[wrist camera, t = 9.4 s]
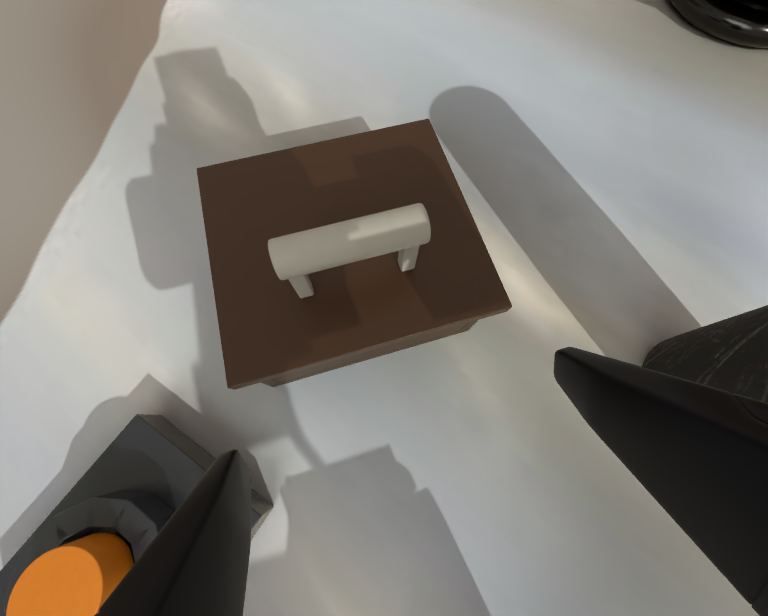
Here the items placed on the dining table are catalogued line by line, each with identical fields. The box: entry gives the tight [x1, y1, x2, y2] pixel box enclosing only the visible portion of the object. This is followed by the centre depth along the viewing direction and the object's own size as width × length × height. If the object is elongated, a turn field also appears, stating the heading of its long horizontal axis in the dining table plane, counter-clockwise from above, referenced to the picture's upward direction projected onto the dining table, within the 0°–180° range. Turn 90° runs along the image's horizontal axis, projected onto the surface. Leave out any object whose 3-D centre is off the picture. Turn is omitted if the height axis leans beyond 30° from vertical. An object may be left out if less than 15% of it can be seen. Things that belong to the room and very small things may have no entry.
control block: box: [0, 414, 273, 616], centre depth 16 cm, size 11×9×4 cm
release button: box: [6, 533, 134, 616], centre depth 14 cm, size 4×4×2 cm
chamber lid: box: [197, 119, 512, 390], centre depth 15 cm, size 12×13×5 cm
